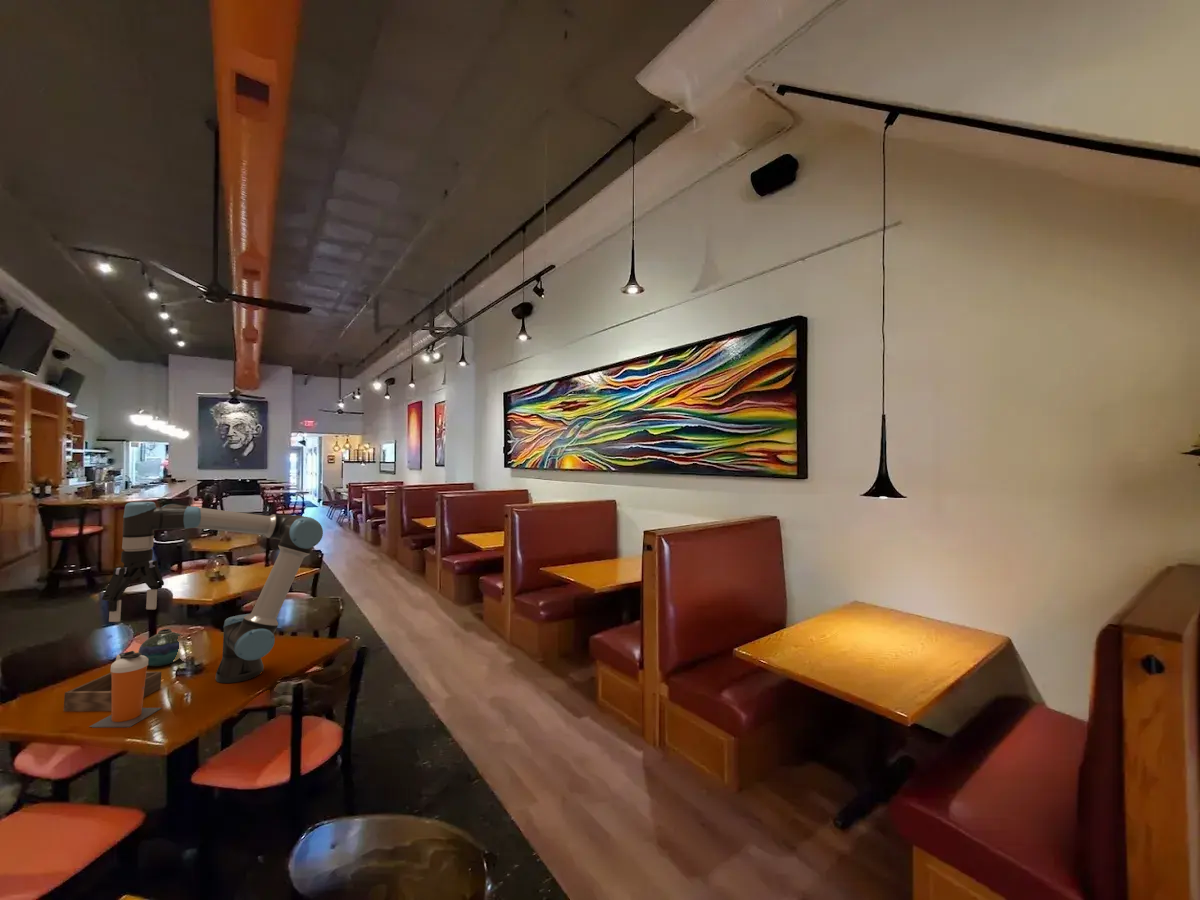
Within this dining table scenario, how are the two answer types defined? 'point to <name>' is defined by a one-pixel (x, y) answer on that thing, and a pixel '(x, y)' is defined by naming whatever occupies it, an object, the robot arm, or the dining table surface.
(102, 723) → the slate board
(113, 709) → the shaker bottle
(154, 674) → the square wooden frame
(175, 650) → the vase
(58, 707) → the dining table surface
